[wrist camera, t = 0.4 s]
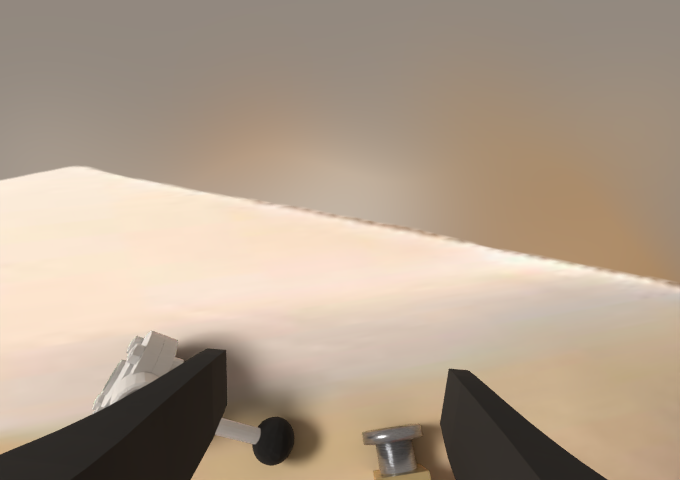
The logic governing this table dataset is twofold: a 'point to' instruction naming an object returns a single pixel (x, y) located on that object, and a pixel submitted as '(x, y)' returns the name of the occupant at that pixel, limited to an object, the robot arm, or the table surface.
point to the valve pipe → (396, 453)
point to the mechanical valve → (159, 358)
